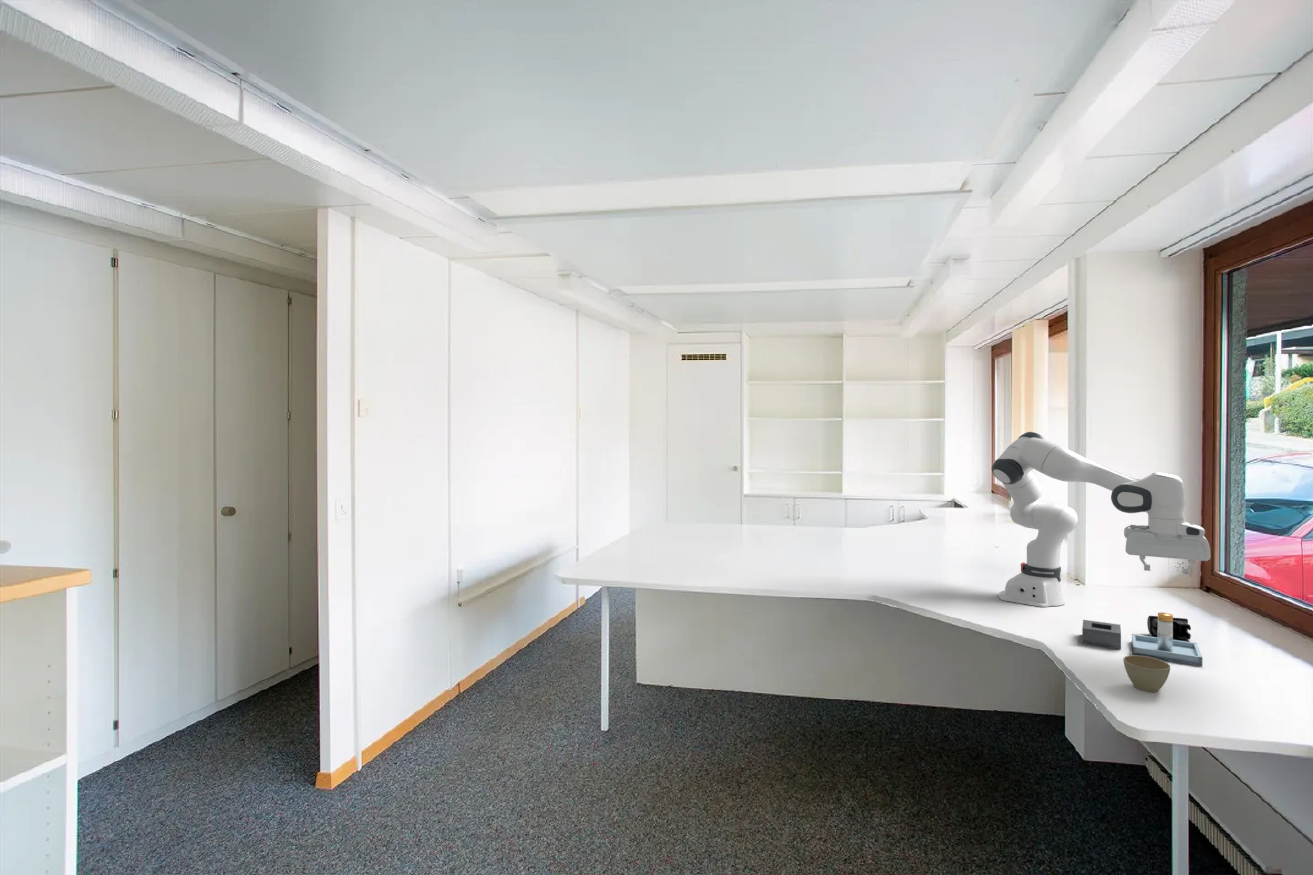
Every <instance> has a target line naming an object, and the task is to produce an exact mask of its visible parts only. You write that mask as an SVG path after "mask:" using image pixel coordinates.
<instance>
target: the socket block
mask: <svg viewBox="0 0 1313 875" xmlns="http://www.w3.org/2000/svg"><path fill="white" fill-rule="evenodd" d="M1081 629H1082V631H1081V632H1082V635H1081V637H1082V640H1081V641H1082V644H1083V645H1090V646H1096V647H1097V646H1098V647H1102V648H1110V649H1116V650H1121V649H1122V631H1121V630H1122V629H1121V624H1118V623H1111V622H1104V621H1096V620H1088V619H1082V628H1081Z"/></svg>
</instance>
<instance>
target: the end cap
mask: <svg viewBox="0 0 1313 875" xmlns="http://www.w3.org/2000/svg"><path fill="white" fill-rule="evenodd" d="M1146 620H1147V625H1146V626H1147V630H1148V633H1149V634H1150V635H1151V636H1150V637H1157V638H1158V615H1148V617H1147V619H1146ZM1191 630H1192V627H1191V625H1190V624H1189V620H1188V618H1184V617H1173V640H1178V641H1185V642H1191V641H1190V639H1191V637H1192V635H1191V633H1190V632H1189V631H1191Z"/></svg>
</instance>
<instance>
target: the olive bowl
mask: <svg viewBox="0 0 1313 875" xmlns="http://www.w3.org/2000/svg"><path fill="white" fill-rule="evenodd" d="M1123 665H1124V669H1125V672H1126V674H1127V677H1128V679H1129V680H1130V681H1131V683H1132V685H1133V686H1134V688H1136V689H1137V690H1140V691H1143V692H1146V693H1157V692H1159V691H1160V690H1161V689H1162V688H1163V687H1164V685H1165V684H1166V682H1167V679H1168V678H1169V674H1170V671H1171V665H1170V664H1169V663H1168V662H1166V661H1165V660H1160V659H1156V658H1152V657H1147V656H1138V655H1133V654H1130V655H1125V656H1124V657H1123Z"/></svg>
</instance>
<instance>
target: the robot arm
mask: <svg viewBox="0 0 1313 875" xmlns="http://www.w3.org/2000/svg"><path fill="white" fill-rule="evenodd" d="M1033 469H1034V470H1035V471H1036V472H1039V473H1041V474H1043V475H1044V476H1047V477H1049V478H1051V479H1054V480H1057V481H1058V480H1059V481H1061V482H1069V483H1070V482H1071V483H1072V482H1073V483H1075V482H1076V483H1089V484H1094V485H1097V486H1098V487H1099V486H1100V487H1102V488H1104V489H1106V490H1108V491H1111V495H1110V500H1111V503H1112V505H1113V506H1114V507H1115V509H1117V510H1118V511H1120V512H1122V513H1127V514H1138V513H1146V514H1147V515H1148V516H1147V518H1148V520H1147V521H1148V522H1147V525H1139V524H1138V525H1136V524H1130V525H1128V526H1126V527H1124V530H1123V534H1124V537H1125V539H1126V540H1125V553H1126V554H1128V555H1129V556H1139V560H1140V561H1141V562H1140V563H1142V564H1143V571H1146V572H1150V571H1151V564H1150V563H1146V561H1145V560H1146V557H1151V558H1167V559H1177V560H1187V562H1188V565H1187V566H1186V567H1183V568H1182V569H1183V571H1182V573H1183V575H1191V569H1192V568H1193V567H1194V566H1195V564H1196V561H1201V562H1208V561H1209V560H1211V547H1210V543H1209V541H1208V539H1207V538H1206V537H1205V534H1206V530H1205V528H1204V527H1202V526H1200V525H1197V524H1193V523H1189V522H1186V515H1185V512H1184V511H1185V510H1184V509H1185V506H1186V492H1185V490H1186V489H1185V485H1184V482H1183V479H1182V478H1180V476H1178V475H1175V474H1171V473H1165V472H1153V473H1151V474H1149V475H1148V476H1146V477H1142V478H1134V477H1130V476H1127V475H1126V474H1125V475H1124V474H1123V473H1120V472H1117V471H1114V470H1112V469H1110V468H1109V467H1104V466H1103V465H1100V464H1098V463H1096V462H1094V461H1093V460H1090V459H1088V458H1086V457H1084V456H1082V455H1080V454H1078V453H1076V452H1074V451H1072V450H1070V449H1068V448H1066V447H1065V446H1062V445H1059V444H1057V443H1055V442H1052V441H1049V440H1047V439H1046V438H1045V437H1044V436H1043V435H1041V434H1039V433H1037V432H1035V431H1034V432H1033V431H1027V432H1025V433H1023V434H1021V435H1020V436H1019V437H1018V438H1017V439H1016V440H1014V441H1013V442H1011V444H1010V445H1009V446H1007V448H1006V449H1005V450H1004V451H1003V452H1002V453H1001V454H1000V456H999V457H998V458H997V459H996V460H994V462H993V464H992V466H991V471H992V474H993V476H994V477H995V478H996V479H997V480H998V481H999V482H1001V483H1002V485H1003V486H1004V488H1005V489H1006V491H1007V492H1008V494H1009V496H1010V497H1011V499H1012V501H1013V504H1012V505H1011V507H1010V511H1009V512H1010V514H1009V516H1010V518H1011V520H1012V522H1013V523H1015V524H1017V525H1019V526H1021V527H1024V528H1028V529H1033V530H1038V532H1037V536H1036V538H1034V539H1032V540H1030V541H1029V542H1028V543H1027V545H1026V562H1024V561H1023V562H1021V563H1020V573H1018V574H1016V575H1015V576H1013V577H1011V578H1009V579H1008V580H1007V582H1006V583H1005V587H1004V590H1002V591H1000V592H999V593H998V599H1000V600H1001V601H1007V602H1010V603H1011V602H1012V603H1017V604H1022V605H1024V604H1025V605H1027V606H1028V605H1029V606H1035V607H1038V608H1039V607H1040V608H1045V607H1046V608H1047V607H1058V606H1063V605H1065V604H1066V602H1065V599H1064V596H1063V593H1062V586H1061V585H1062V584H1061V580H1062V567H1061V564H1060V563H1061V562H1060V560H1061V559H1060V558H1061V546H1062V543H1063V541H1064V540H1065V539H1066V538H1065V537H1066V536H1067V535H1068V534H1070V533H1072V532H1073V531H1074V530H1075V529H1076V528H1077V526H1078V524H1079V523H1078V522H1079V517H1078V514H1077V512H1076V511H1075V509H1074V508H1072V507H1069V506H1066V505H1063V504H1061V503H1055V502H1054V503H1053V502H1052V503H1051V502H1045V501H1042V500H1041V499H1040V498H1041V496H1042V495H1043V485H1042V484H1041V483H1040V481H1039V480H1038V478H1037V477H1036V475H1035V474H1034V472H1033Z"/></svg>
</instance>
